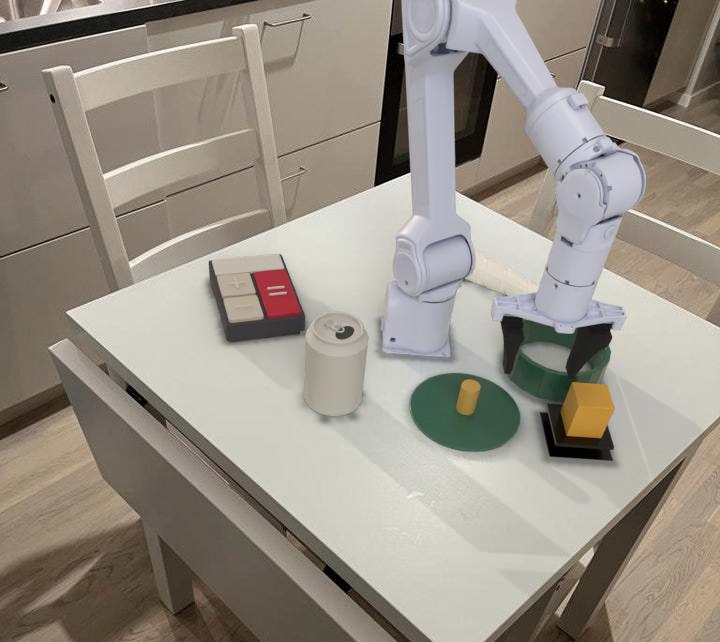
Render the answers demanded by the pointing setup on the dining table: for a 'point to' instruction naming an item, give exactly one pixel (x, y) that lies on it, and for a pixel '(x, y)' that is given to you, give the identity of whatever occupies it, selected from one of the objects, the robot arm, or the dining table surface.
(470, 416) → the tin lid
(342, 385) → the can
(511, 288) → the unicorn horn
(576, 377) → the tin
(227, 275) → the calculator
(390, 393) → the dining table surface
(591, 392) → the block
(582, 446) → the stand
